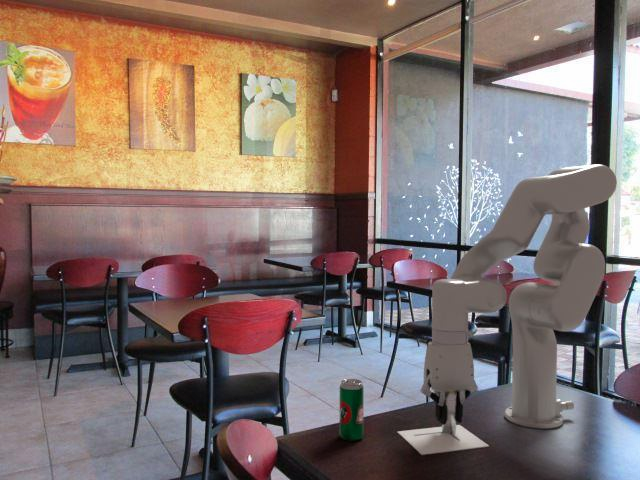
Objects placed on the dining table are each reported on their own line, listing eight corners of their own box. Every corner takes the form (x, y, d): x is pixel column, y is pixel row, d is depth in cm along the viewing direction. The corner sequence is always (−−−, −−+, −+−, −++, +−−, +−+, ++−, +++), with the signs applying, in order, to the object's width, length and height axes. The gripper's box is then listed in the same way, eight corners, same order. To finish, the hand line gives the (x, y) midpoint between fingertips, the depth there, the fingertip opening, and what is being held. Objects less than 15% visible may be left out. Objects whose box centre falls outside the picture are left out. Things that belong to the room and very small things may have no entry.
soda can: (361, 443, 116) (361, 385, 115) (337, 441, 117) (337, 384, 116) (364, 433, 121) (364, 378, 120) (341, 432, 122) (341, 377, 121)
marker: (452, 427, 123) (452, 377, 122) (459, 432, 120) (459, 382, 119) (439, 428, 122) (439, 379, 122) (445, 434, 119) (446, 383, 119)
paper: (459, 425, 125) (459, 424, 125) (489, 446, 114) (489, 445, 114) (397, 432, 122) (397, 431, 122) (421, 454, 110) (421, 453, 110)
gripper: (474, 331, 126) (473, 412, 127) (407, 335, 122) (406, 419, 122) (493, 338, 119) (492, 424, 119) (422, 343, 114) (421, 431, 115)
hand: (449, 420), depth 121 cm, fingers closed on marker, 3 cm apart
